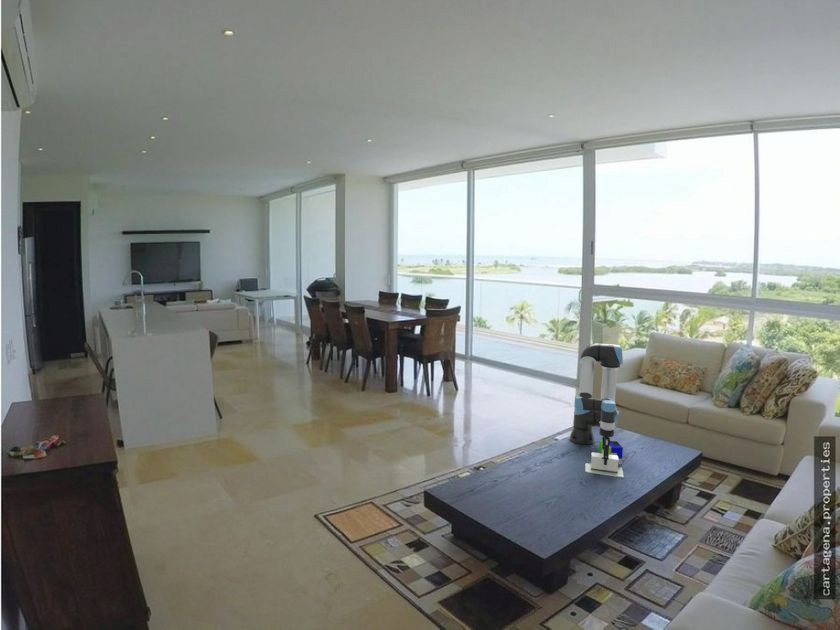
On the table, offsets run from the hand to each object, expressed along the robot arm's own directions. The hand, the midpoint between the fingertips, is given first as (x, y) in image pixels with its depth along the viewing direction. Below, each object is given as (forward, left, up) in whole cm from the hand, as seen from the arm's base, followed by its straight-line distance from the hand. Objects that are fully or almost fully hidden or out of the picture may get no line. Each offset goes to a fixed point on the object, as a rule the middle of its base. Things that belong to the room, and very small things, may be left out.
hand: (604, 465), depth 294 cm
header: (0, 0, -3) cm, 3 cm away
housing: (0, 0, -2) cm, 2 cm away
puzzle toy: (-16, +4, -3) cm, 17 cm away
